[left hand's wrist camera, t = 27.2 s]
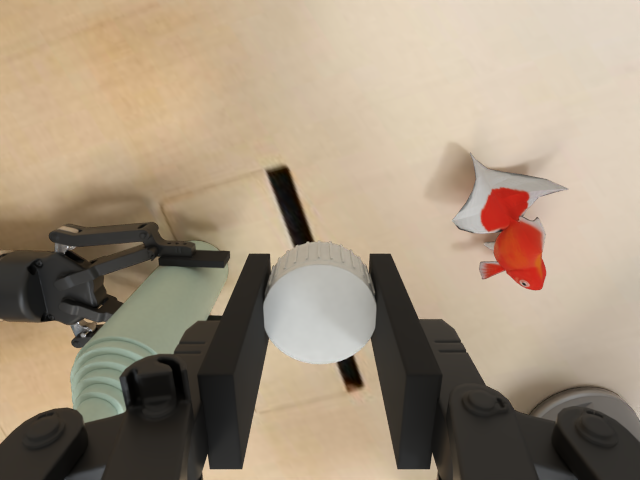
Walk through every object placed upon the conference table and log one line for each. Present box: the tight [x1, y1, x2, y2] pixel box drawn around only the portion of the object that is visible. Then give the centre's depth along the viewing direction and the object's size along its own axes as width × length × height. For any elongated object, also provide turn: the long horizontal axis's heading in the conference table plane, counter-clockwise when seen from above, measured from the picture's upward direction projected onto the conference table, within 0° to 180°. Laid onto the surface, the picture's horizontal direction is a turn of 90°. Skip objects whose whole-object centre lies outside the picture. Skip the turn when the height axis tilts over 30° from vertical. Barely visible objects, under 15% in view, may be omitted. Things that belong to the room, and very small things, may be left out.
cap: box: [263, 241, 376, 364], centre depth 14 cm, size 4×4×2 cm
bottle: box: [70, 241, 228, 423], centre depth 36 cm, size 7×7×26 cm
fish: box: [452, 152, 568, 290], centre depth 41 cm, size 11×16×10 cm
